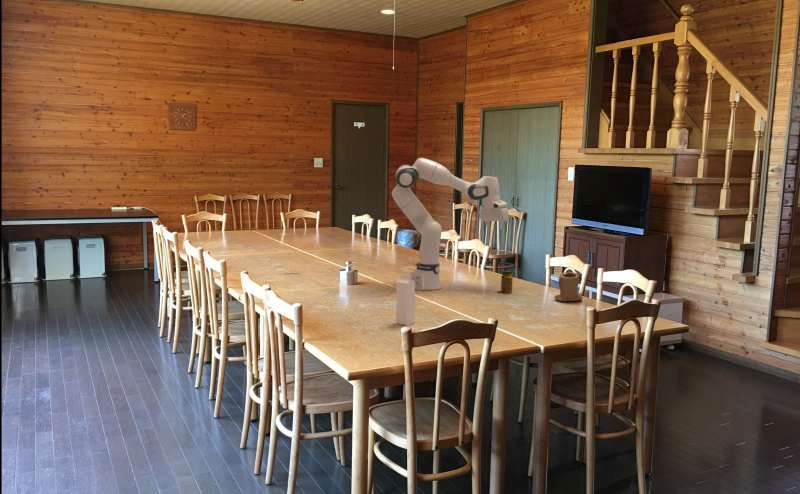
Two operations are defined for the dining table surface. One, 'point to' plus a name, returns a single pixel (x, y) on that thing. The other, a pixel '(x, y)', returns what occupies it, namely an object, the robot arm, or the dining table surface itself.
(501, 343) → the dining table surface
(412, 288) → the milk
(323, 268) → the dining table surface
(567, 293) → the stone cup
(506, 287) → the condiment
